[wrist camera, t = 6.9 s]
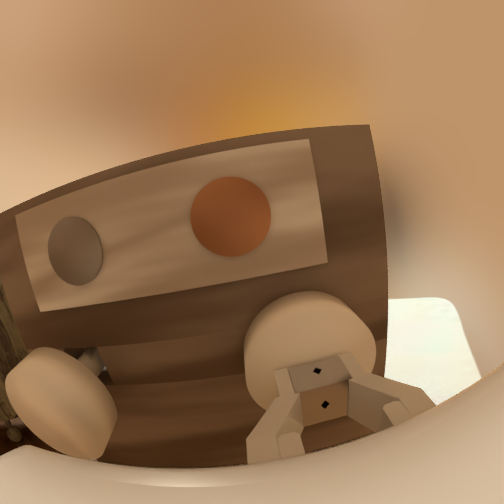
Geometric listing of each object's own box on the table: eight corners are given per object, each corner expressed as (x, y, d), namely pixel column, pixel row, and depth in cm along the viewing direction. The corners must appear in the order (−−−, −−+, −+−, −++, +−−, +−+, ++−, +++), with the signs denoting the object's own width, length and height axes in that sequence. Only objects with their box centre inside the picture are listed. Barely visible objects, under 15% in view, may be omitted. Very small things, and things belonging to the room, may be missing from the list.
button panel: (379, 436, 14) (374, 122, 10) (96, 465, 13) (-18, 221, 9) (356, 397, 18) (337, 139, 14) (111, 428, 18) (27, 212, 14)
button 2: (372, 398, 10) (376, 295, 9) (258, 428, 10) (232, 327, 9) (329, 333, 17) (322, 254, 16) (249, 350, 17) (232, 272, 16)
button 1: (125, 466, 8) (63, 372, 7) (44, 450, 8) (-11, 366, 7) (155, 380, 15) (125, 302, 14) (87, 382, 14) (55, 311, 13)
